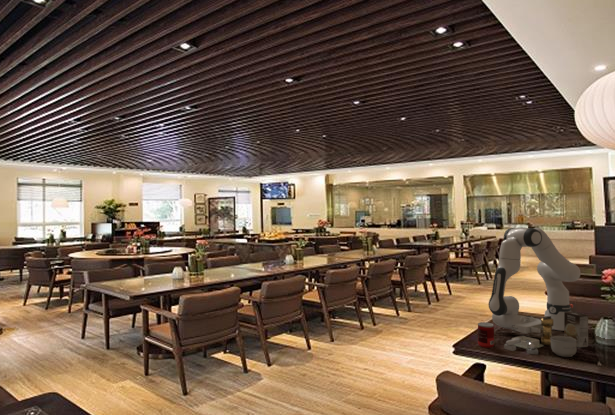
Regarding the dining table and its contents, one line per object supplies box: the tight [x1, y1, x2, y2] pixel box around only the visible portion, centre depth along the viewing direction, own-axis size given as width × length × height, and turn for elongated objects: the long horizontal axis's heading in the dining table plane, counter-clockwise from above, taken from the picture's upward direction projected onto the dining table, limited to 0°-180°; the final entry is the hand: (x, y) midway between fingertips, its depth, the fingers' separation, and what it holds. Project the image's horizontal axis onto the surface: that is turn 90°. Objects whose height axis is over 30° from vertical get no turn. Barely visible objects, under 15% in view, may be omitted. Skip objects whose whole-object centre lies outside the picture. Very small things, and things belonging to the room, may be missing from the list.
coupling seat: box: [503, 335, 545, 352], centre depth 216 cm, size 20×12×4 cm, turn 121°
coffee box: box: [563, 310, 589, 348], centre depth 219 cm, size 9×6×16 cm
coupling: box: [540, 315, 553, 347], centre depth 220 cm, size 6×6×14 cm
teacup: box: [550, 335, 578, 358], centre depth 204 cm, size 14×11×8 cm
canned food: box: [477, 321, 495, 349], centre depth 218 cm, size 8×8×11 cm
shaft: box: [525, 340, 539, 356], centre depth 209 cm, size 9×4×4 cm, turn 166°
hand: (546, 329), depth 220 cm, fingers open, 8 cm apart
